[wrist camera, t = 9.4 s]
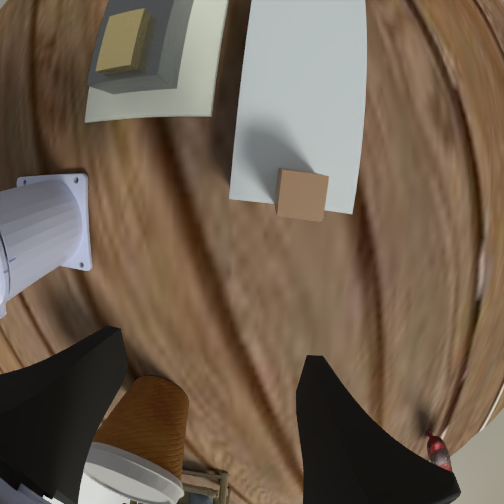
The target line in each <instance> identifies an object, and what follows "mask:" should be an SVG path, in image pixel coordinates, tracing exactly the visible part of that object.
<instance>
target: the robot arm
mask: <svg viewBox="0 0 504 504" xmlns="http://www.w3.org/2000/svg"><path fill="white" fill-rule="evenodd" d="M77 177H78V182H77ZM82 263H83V264H84V266H83V265H82ZM58 266H64V267H69V268H74V269H79V270H85V271H89V270H90V269H92V256H91V245H90V233H89V215H88V177H87V175H86V174H84V173H76V174H55V175H39V176H27V177H19V178H18V179H17V187H16V188H12V189H8V190H4V191H0V319H1V318H2V317H3V316H4V315H6V314H7V312H6V302H7V301H8V300H10V299H11V298H13V297H14V296H15V295H17V294H18V293H20V292H21V291H22V290H24V289H25V288H27V287H28V286H30V285H31V284H32V283H34V282H35V281H37V280H38V279H40V278H41V277H43V276H44V275H46V274H47V273H49V272H50V271H52V270H54V269H55V268H57V267H58ZM127 369H128V362H127V357H126V353H125V348H124V343H123V338H122V333H121V329H120V328H116V327H112V326H106V327H104V328H102V329H100V330H99V331H97V332H95V333H93V334H92V335H90V336H88V337H86V338H85V339H83V340H81V341H79V342H78V343H76V344H74V345H72V346H71V347H69V348H67V349H65V350H63V351H61V352H59V353H57V354H55V355H53V356H51V357H49V358H47V359H45V360H43V361H41V362H38V363H36V364H33V365H31V366H28V367H25V368H22V369H19V370H15V371H12V372H8V373H5V374H0V504H51V503H50V502H48V501H46V500H45V499H43V498H42V497H43V495H45V496H46V497H48V498H50V499H52V498H53V497H54V498H55V499H57V500H59V501H61V502H62V503H64V504H78V496H79V490H80V484H81V479H82V475H83V470H84V466H85V463H86V459H87V456H88V453H89V450H90V447H91V444H92V441H93V438H94V436H95V433H96V431H97V429H98V427H99V424H100V423H101V421H102V419H103V417H104V415H105V414H106V412H107V410H108V408H109V406H110V405H111V403H112V401H113V399H114V397H115V396H116V394H117V392H118V390H119V388H120V386H121V384H122V382H123V379H124V377H125V374H126V372H127ZM296 414H297V422H298V429H299V436H300V444H301V451H302V458H303V470H304V489H303V504H450V503H451V502H453V501H454V500H456V499H457V498H458V497H459V496H460V494H461V491H460V488H459V485H458V483H457V480H456V477H455V475H454V473H453V472H451V471H448V470H446V469H444V468H442V467H439V466H437V465H435V464H433V463H431V462H429V461H427V460H425V459H423V458H422V457H420V456H418V455H417V454H415V453H413V452H412V451H410V450H409V449H407V448H406V447H405V446H403V445H402V444H401V443H399V442H398V441H396V440H395V439H394V438H393V437H391V436H390V435H389V434H388V433H387V432H385V431H384V430H383V429H382V428H381V427H380V426H379V425H378V424H377V423H376V422H375V421H373V420H372V419H371V417H370V416H369V415H368V414H367V413H366V412H365V411H364V410H363V409H362V408H361V406H360V405H359V404H358V403H357V402H356V401H355V399H354V398H353V397H352V396H351V394H350V393H349V392H348V390H347V389H346V388H345V387H344V385H343V384H342V382H341V381H340V380H339V378H338V377H337V375H336V374H335V373H334V371H333V370H332V368H331V367H330V365H329V364H328V362H327V361H326V360H325V358H324V357H323V356H313V355H307V357H306V360H305V364H304V367H303V370H302V374H301V377H300V381H299V384H298V387H297V390H296Z"/></svg>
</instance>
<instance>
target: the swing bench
mask: <svg viewBox="0 0 504 504" xmlns="http://www.w3.org/2000/svg"><path fill="white" fill-rule="evenodd" d="M182 474H187V475H193V476H199V477H206V478H215V479H221V483H220V491H217V490H213V489H212V488H206V487H200V486H194V485H191V484H186V483H182V482H181V483H182V485H183V490H184V496H183V497H181V498H179V500H178V502H177V503H176V504H229V499H230V492H231V489H230V488H227V487H228V477H229V474H228V473H226V472H223V473H222V475H215V474H207V473H200V472H194V471H188V470H183V469H182ZM123 504H126V503H123ZM130 504H137V501H134V500H131V501H130ZM138 504H143V503H140V502H138Z"/></svg>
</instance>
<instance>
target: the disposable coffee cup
mask: <svg viewBox="0 0 504 504" xmlns="http://www.w3.org/2000/svg"><path fill="white" fill-rule="evenodd" d="M188 407H189V400H188V397H187V396H186V394H185V393H184V392H183V390H181V389H180V388H179V387H178V386H176V385H175V384H173V383H172V382H170V381H168V380H165V379H163V378H160V377H156V376H142V377H139V378H137V379H136V380H135V381H134V383H133V384H132V385H131V387H130V388H129V390H128V391H127V392H126V393H125V395H124V396H123V397H122V399H121V400H120V401H119V403H118V404H117V405H116V407H115V408H114V409H113V411H112V412H111V413H110V415H109V416H108V417H107V419H106V420H105V421H104V423H103V424H102V425H101V427H100V428H99V429H98V431H97V432H96V433H95V436H94V438H93V441H92V444H91V447H90V450H89V453H88V456H87V459H86V463H85V466H84V470H83V472H84V473H85V474H86V475H87V476H89V477H90V478H91V479H93V480H94V481H95V482H97V483H99V484H100V485H102V486H103V487H105V488H107V489H109V490H110V491H112V492H114V493H117V494H119V495H121V496H124V497H126V498H128V499H131V500H134V501H137V502H140V503H143V504H176V503H177V502H178V500H179V498H181V497H183V496H184V490H183V485H182V483H181V474H182V464H183V454H184V443H185V434H186V425H187V415H188Z"/></svg>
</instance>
